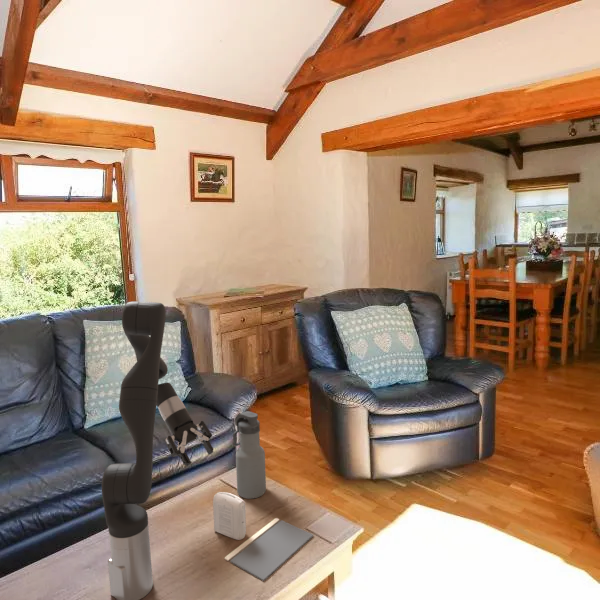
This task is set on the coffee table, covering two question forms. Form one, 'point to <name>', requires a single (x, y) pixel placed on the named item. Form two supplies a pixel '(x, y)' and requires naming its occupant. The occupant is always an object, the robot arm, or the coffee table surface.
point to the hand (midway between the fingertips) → (200, 459)
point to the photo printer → (229, 515)
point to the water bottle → (249, 457)
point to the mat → (269, 548)
